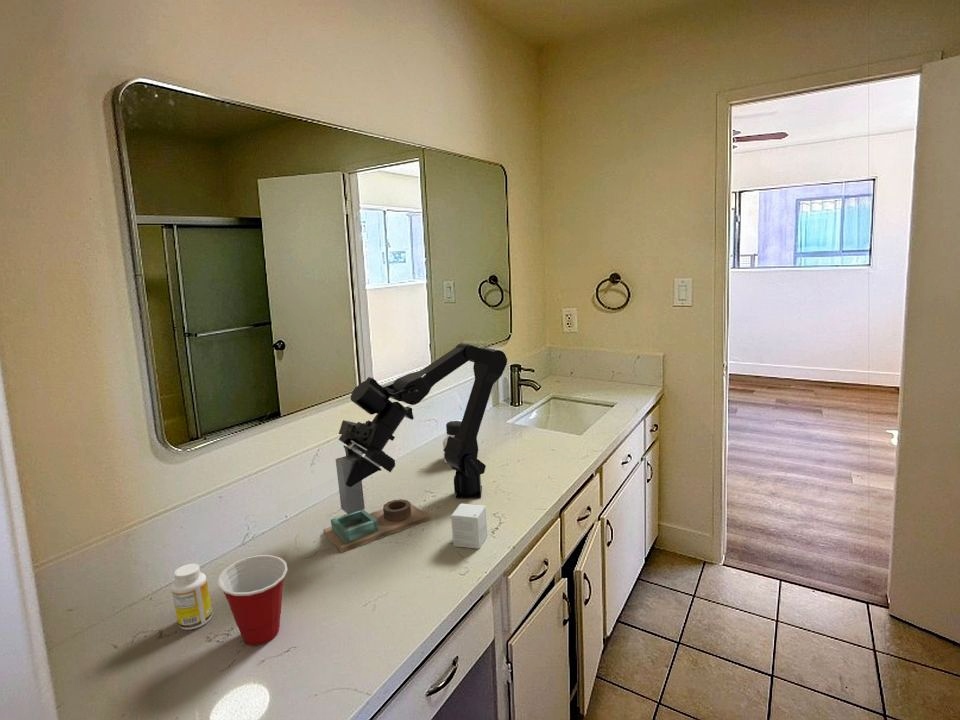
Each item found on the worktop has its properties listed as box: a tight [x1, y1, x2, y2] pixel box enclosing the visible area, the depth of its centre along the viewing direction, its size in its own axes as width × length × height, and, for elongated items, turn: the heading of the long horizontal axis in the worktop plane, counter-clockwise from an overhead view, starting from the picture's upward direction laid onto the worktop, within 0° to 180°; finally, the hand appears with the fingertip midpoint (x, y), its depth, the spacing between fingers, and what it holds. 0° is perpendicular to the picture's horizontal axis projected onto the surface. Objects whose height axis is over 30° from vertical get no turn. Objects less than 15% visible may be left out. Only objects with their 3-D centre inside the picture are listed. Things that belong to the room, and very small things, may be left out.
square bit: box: [335, 455, 366, 514], centre depth 126 cm, size 4×4×12 cm
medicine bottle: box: [442, 419, 462, 464], centre depth 170 cm, size 7×7×12 cm
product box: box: [450, 503, 488, 550], centre depth 121 cm, size 6×6×7 cm
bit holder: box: [323, 498, 430, 553], centre depth 131 cm, size 22×11×4 cm, turn 126°
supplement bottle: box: [171, 563, 213, 631], centre depth 99 cm, size 6×6×10 cm
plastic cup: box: [217, 554, 288, 647], centre depth 94 cm, size 11×11×12 cm
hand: (344, 483), depth 125 cm, fingers closed on square bit, 4 cm apart
